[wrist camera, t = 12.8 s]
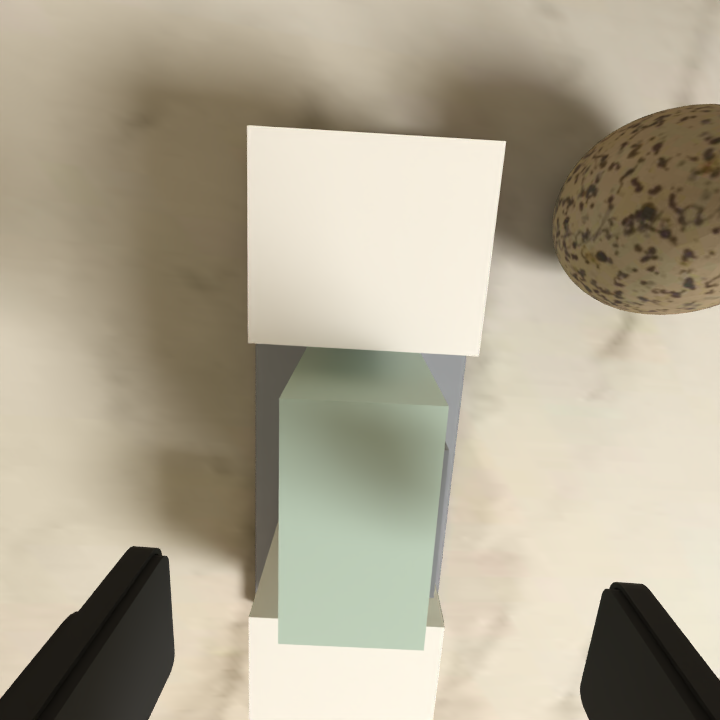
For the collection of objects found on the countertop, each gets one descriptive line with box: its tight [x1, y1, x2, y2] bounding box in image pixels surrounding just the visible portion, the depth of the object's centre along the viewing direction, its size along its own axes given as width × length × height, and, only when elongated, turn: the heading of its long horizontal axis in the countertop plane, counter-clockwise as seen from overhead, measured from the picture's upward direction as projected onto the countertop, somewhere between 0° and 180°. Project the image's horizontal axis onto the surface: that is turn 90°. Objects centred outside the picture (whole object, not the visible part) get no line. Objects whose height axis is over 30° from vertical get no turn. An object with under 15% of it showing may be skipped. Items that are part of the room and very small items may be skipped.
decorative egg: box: [552, 104, 720, 315], centre depth 16 cm, size 7×7×10 cm
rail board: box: [247, 125, 506, 720], centre depth 19 cm, size 10×25×9 cm, turn 177°
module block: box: [278, 346, 449, 651], centre depth 17 cm, size 5×8×9 cm, turn 177°
